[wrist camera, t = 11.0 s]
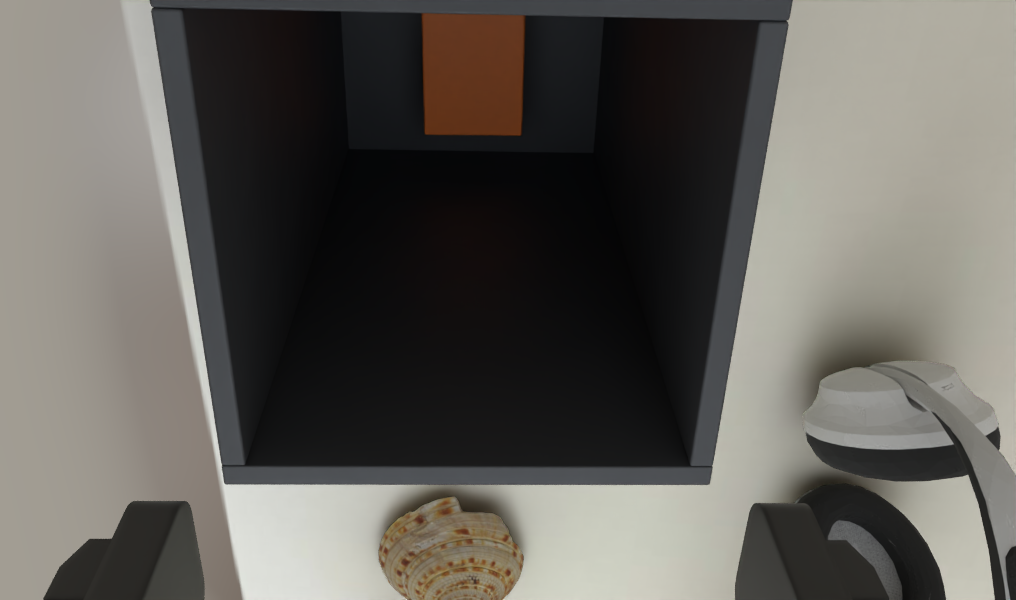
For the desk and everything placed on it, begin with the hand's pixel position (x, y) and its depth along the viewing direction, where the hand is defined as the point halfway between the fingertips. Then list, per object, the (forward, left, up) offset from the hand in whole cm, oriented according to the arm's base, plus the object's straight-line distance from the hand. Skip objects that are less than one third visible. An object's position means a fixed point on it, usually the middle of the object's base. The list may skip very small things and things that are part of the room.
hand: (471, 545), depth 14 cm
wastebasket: (0, 0, -31) cm, 31 cm away
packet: (0, 0, -30) cm, 30 cm away
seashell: (+30, -1, -31) cm, 43 cm away
